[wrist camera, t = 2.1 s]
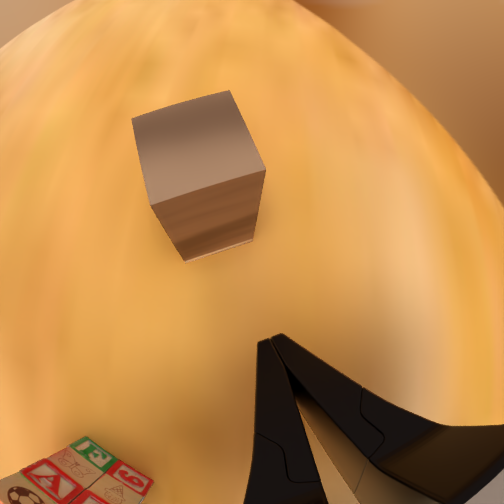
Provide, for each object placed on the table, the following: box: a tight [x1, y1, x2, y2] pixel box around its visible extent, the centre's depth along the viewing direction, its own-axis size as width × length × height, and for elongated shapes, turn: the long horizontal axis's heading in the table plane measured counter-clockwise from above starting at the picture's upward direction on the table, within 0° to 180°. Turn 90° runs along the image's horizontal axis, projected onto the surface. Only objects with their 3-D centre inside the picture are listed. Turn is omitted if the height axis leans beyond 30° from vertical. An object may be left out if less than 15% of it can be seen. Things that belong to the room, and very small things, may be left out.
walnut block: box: [132, 90, 266, 263], centre depth 18 cm, size 5×5×10 cm
